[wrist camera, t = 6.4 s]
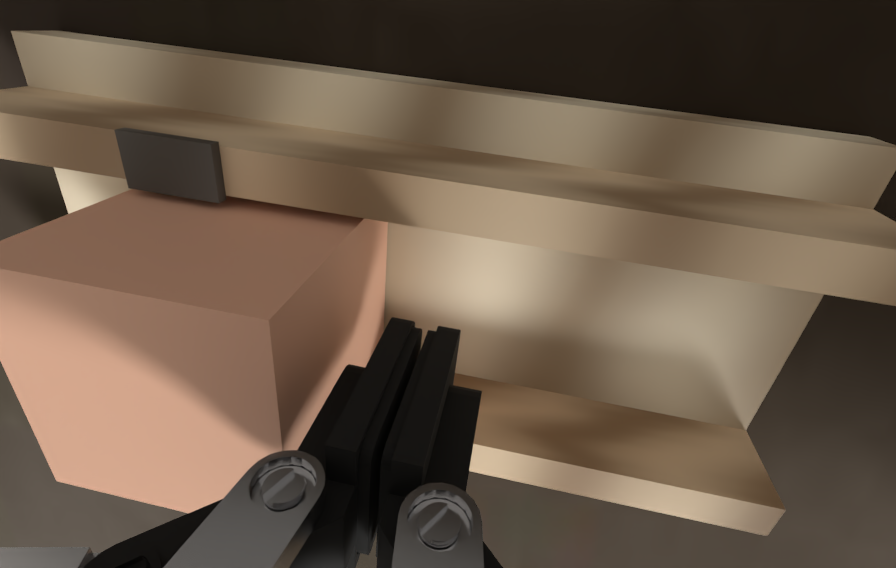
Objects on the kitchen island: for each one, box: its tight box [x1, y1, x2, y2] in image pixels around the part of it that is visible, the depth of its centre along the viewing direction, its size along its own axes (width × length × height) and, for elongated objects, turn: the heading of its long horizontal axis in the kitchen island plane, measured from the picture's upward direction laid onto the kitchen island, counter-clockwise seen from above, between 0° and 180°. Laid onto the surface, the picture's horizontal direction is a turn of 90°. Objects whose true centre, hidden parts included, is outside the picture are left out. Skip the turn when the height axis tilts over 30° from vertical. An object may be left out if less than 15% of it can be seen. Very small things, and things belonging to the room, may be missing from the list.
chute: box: [0, 30, 896, 536], centre depth 15 cm, size 24×12×5 cm, turn 85°
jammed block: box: [0, 189, 388, 513], centre depth 13 cm, size 6×6×7 cm
